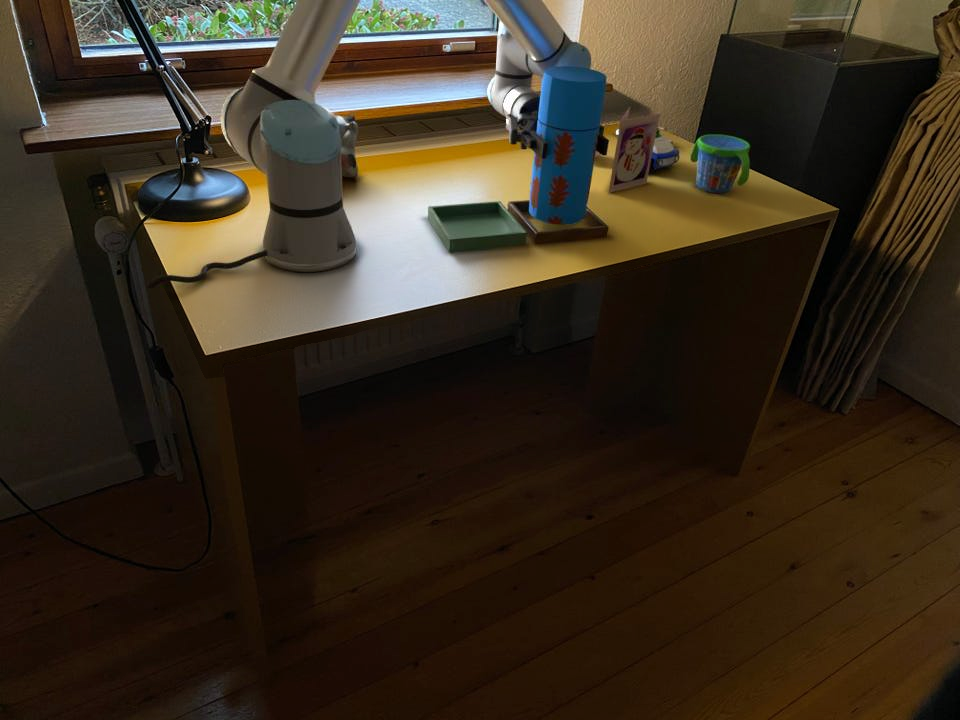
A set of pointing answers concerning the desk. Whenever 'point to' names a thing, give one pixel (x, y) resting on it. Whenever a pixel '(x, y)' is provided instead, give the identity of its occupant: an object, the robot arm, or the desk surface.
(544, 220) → the thermos
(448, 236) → the sage tray
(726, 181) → the snack cup
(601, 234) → the walnut frame
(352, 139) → the lucky cat figurine
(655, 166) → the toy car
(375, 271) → the desk surface
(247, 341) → the desk surface
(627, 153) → the greeting card
